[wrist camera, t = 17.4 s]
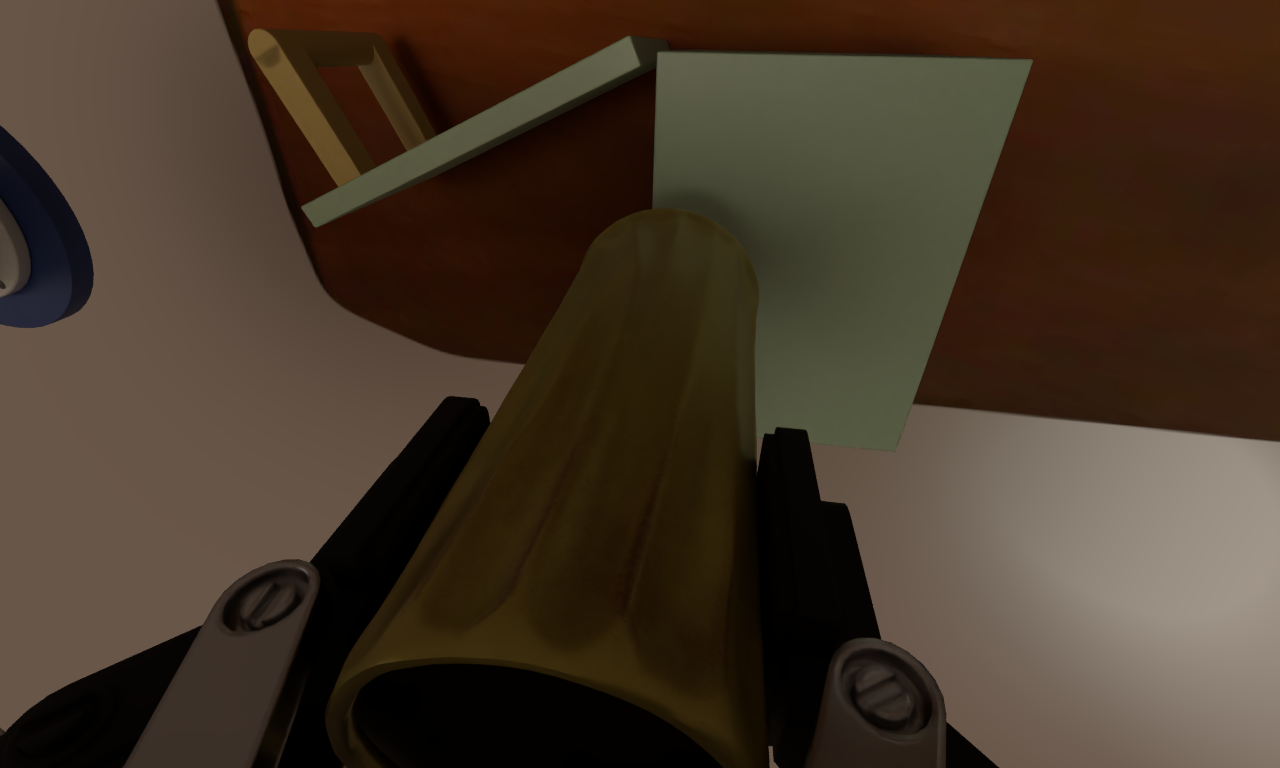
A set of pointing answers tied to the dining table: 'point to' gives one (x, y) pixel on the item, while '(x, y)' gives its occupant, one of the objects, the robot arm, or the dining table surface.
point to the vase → (591, 541)
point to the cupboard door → (415, 109)
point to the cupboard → (837, 211)
